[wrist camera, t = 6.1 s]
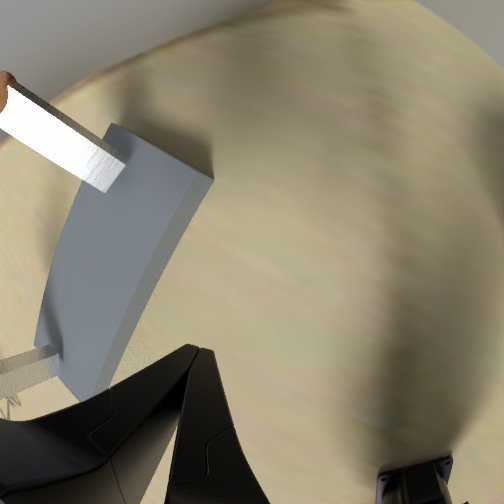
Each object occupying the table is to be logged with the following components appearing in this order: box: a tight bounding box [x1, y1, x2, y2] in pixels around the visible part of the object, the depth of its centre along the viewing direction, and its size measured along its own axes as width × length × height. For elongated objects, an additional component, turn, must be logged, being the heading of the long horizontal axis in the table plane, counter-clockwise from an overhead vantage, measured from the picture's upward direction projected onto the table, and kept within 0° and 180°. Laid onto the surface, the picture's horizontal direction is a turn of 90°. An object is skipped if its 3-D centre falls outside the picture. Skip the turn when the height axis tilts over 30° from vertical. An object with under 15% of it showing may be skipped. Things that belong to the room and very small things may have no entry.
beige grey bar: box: [0, 344, 59, 400], centre depth 14 cm, size 3×3×12 cm
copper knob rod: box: [0, 71, 126, 193], centre depth 13 cm, size 3×3×12 cm
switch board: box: [34, 123, 214, 402], centre depth 21 cm, size 9×23×2 cm, turn 147°
